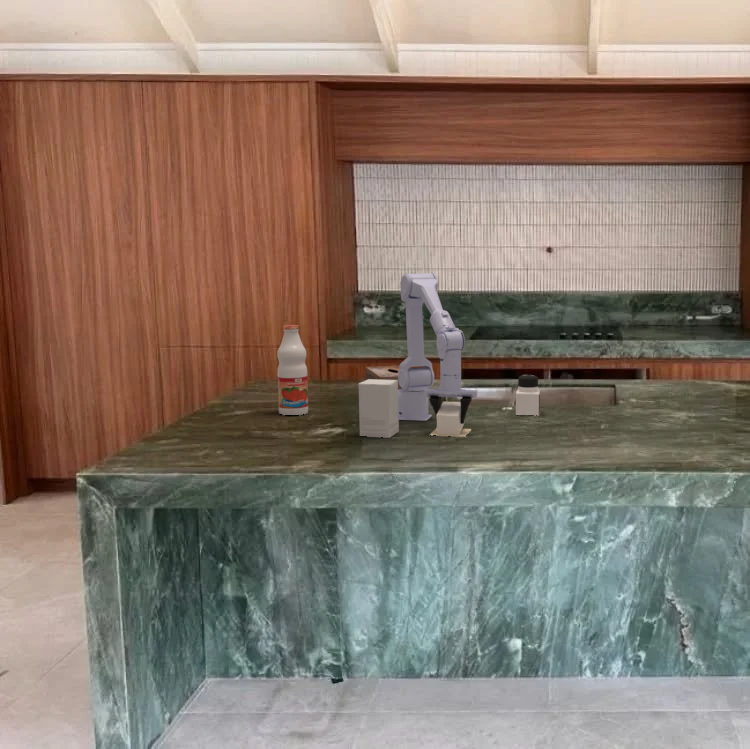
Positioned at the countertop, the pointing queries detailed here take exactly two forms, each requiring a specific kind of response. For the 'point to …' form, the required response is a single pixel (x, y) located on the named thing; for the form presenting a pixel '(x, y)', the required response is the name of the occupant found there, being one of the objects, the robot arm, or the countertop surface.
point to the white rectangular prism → (449, 419)
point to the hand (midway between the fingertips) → (450, 422)
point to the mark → (462, 434)
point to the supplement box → (378, 408)
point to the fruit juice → (292, 374)
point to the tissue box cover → (383, 373)
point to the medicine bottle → (528, 396)
